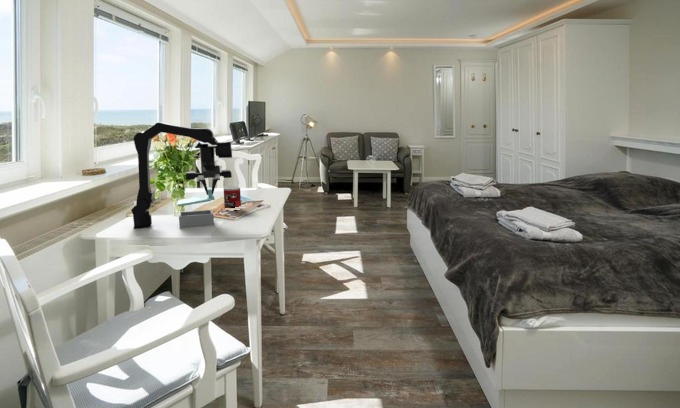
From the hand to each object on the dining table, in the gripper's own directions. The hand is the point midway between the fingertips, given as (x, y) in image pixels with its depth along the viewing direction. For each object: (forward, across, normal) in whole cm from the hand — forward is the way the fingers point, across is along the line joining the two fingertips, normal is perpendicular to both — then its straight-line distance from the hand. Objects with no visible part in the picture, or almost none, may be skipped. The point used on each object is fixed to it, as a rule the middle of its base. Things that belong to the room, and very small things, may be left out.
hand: (209, 194), depth 205 cm
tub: (+13, -6, 0) cm, 14 cm away
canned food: (+13, +12, +24) cm, 30 cm away
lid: (+3, -6, 0) cm, 6 cm away
